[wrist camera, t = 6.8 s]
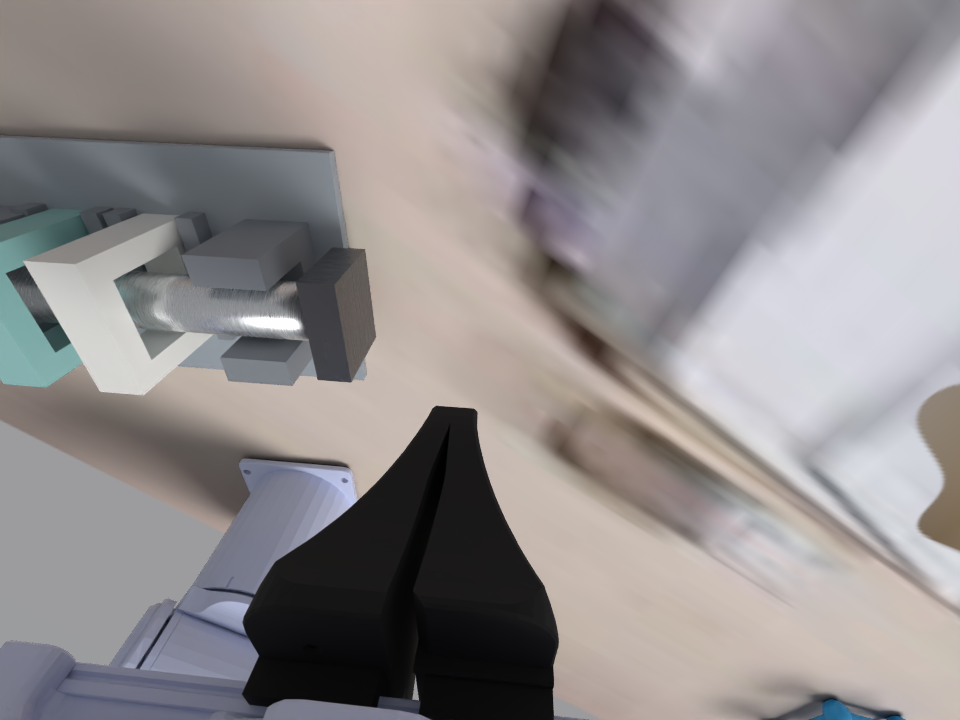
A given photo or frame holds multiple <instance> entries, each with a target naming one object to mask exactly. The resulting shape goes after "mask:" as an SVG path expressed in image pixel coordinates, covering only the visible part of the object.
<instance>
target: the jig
mask: <svg viewBox="0 0 960 720" xmlns="http://www.w3.org/2000/svg"><path fill="white" fill-rule="evenodd" d="M53 208H57V209H75V210H85V211H82V212H79V213H80V215H81V217H82V220H83V222H84V224H85V226H86V228H87V230H88V232H89V234H92V233H95V232H97V231H100V230H102V229H105V228H107V227H110V226H112V225H115V224H117V223H120V222H122V221H125V220H127V219H130V218H132V217H135V216H137V215H140V214H143V213H147V214H165V215H179V216H177V217H175V218H174V219H175V222H176V224H177V227H178V230H179V233H180V235H181V238H182V241H183V244H184V246H185V249H186V253H184V254H182V258H183V261H184V263H185V266H186V269H187V271H188V274H189V277H190V279H191V282H192V285H193V286H194V287H210V288H225V289H241V290H256V291H267V290H268V289H270V288H271V287H272V286H273V285H274V284H275V283H276V282H277V281H279V280H286V281H298V280H299V279H300V278H301V277H302V276H303V275H304V274H305V273H306V272H307V271H308V270H309V269H310V268H311V267H312V266H313V265H314V264H315V263H316V262H317V261H318V260H319V259H321V258H322V257H323V256H324V255H325V254H326V253H327V252H328V251H329V250H330V249H331V248H332V247H336V248H348V242H347V236H346V229H345V222H344V215H343V208H342V201H341V195H340V188H339V181H338V174H337V167H336V161H335V154H334V151H329V150H308V149H286V148H265V147H243V146H222V145H200V144H178V143H157V142H135V141H114V140H92V139H71V138H49V137H27V136H6V135H0V225H1V224H4V223H7V222H11V221H14V220H17V219H20V218H24V217H27V216H30V215H33V214H36V213H40V212H43V211H46V210H49V209H53ZM131 271H144V272H147V269H146V267H145V265H144V264H143V265H141V266H139V267H137V268H135V269H133V270H131ZM36 323H37V324H38V326H39V328H40V329H41V331H42V332H43V333H44V332H46V331H48V330H49V329H51V328H53V327H55V326H57V325H58V324H60V323H50V322H36ZM146 330H147V329H137V331H138V333H139V335H140V334H142V333H143V332H144V331H146ZM178 366H181V367H195V368H208V369H221V370H225V373H226V376H227V378H228V381H235V382H248V383H261V384H274V385H287V386H293V384H294V383H295V381H296V380H297V379H298V377H299V376H300V375H301V376H314V377H317V375H316V370H315V366H314V361H313V357H312V353H311V348H310V344H309V341H303V340H289V339H275V338H261V337H247V336H233V335H219V334H213V335H212V336H211V337H210V338H209V339H208V340H206V341H205V342H204V343H203V344H202V345H201V346H200V347H198V348H197V349H196V350H195V351H194V352H193V353H192V354H190V355H189V356H188V357H187V358H186V359H185V360H184V361H182V362H181V363H180V364H179V365H178ZM366 375H367V372H366V365H365V358H364V360H363V362H362V364H361V366H360V367H359V369H358V371H357V373H356V375H355V377H354V378H353V379H354V380H364V379H365V377H366Z"/></svg>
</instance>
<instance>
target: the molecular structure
mask: <svg viewBox="0 0 960 720" xmlns="http://www.w3.org/2000/svg"><path fill="white" fill-rule="evenodd" d="M822 712H823V714H822V715H819V716H817V717H815V718H812V719H810V720H875V719H871V718H867V717H863V716H859V715H856V714H852V713H850V712H849V710H848V708H847V707H846V706H845V705H844V704H842V703H841V702H839V701H837V700H833V699H829V700H826V701H825V702H824V703H823V705H822ZM887 720H905V719H903V718H901V717H899V716H890V717H888V718H887Z"/></svg>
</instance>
